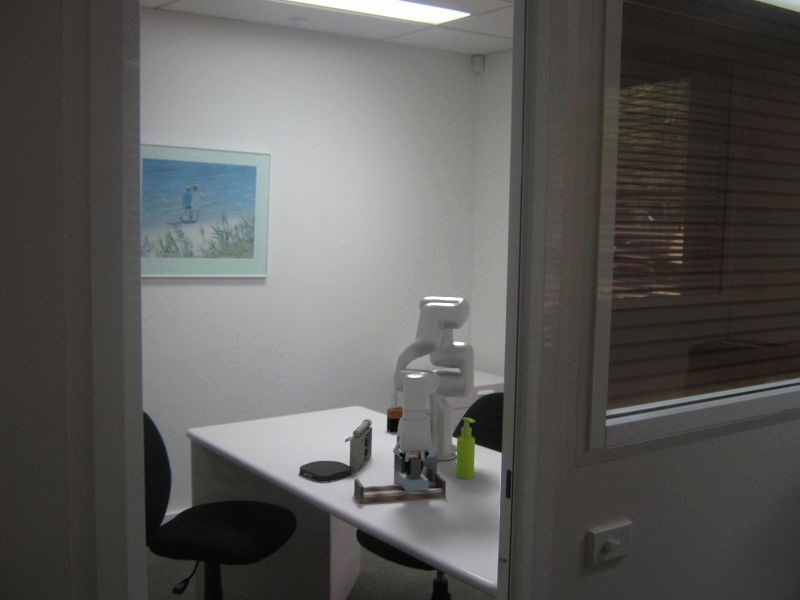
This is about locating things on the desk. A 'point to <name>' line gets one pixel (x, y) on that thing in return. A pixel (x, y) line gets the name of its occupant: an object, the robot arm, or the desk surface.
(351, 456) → the geiger counter
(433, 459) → the cabinet
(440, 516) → the desk surface
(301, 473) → the media streaming box
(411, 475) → the carriage
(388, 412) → the battery
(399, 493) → the rail
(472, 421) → the soap dispenser
